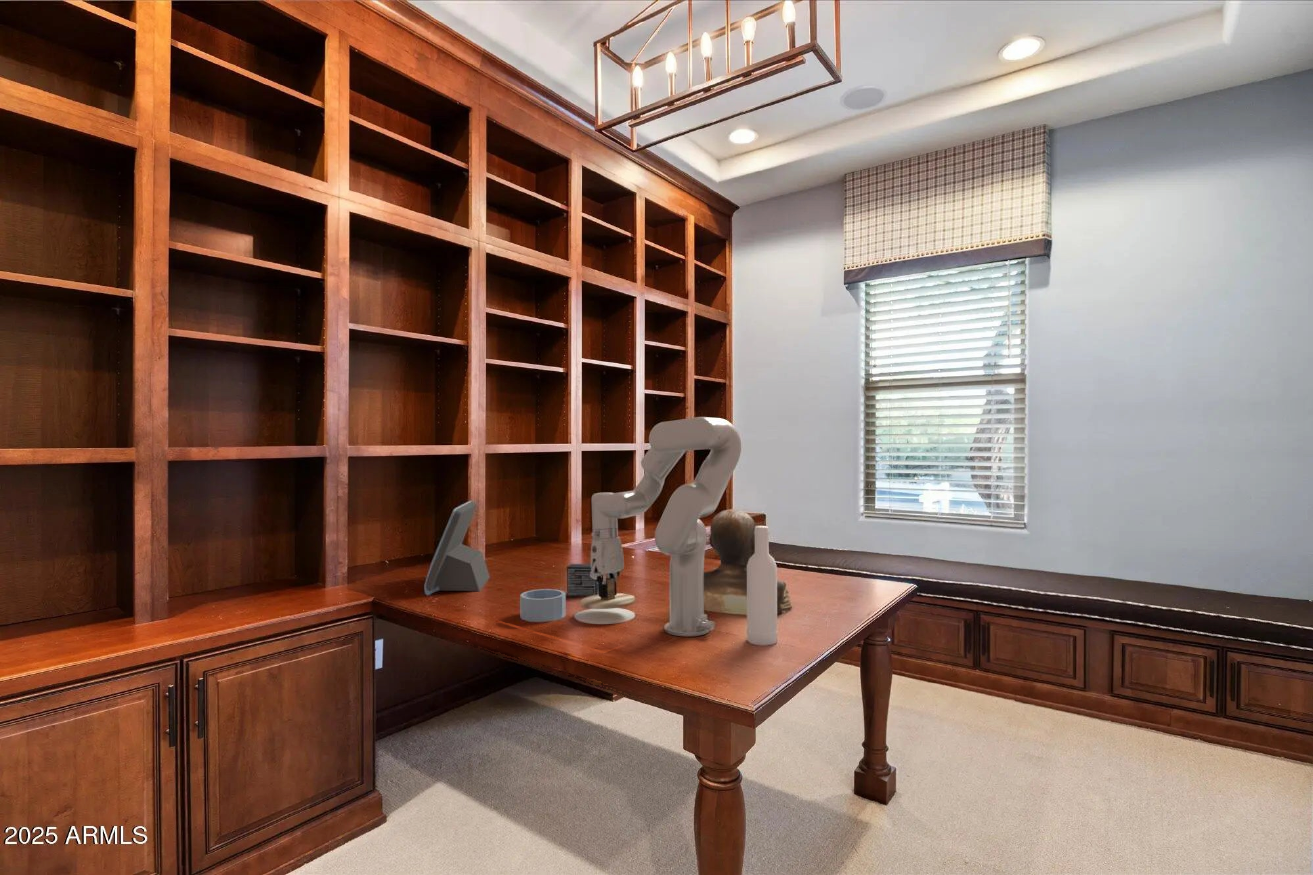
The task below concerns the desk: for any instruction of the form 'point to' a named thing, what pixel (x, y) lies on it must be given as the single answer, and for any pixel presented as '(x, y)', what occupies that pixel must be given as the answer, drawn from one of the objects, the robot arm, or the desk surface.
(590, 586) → the small box
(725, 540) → the portrait bust
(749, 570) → the bottle
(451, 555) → the touchscreen device
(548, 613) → the bowl
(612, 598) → the lid
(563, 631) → the desk surface
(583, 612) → the mat
